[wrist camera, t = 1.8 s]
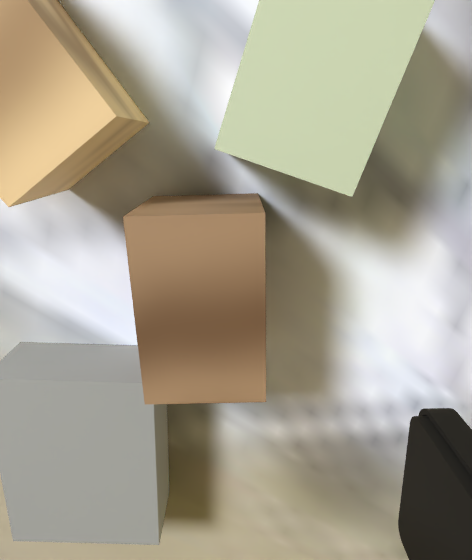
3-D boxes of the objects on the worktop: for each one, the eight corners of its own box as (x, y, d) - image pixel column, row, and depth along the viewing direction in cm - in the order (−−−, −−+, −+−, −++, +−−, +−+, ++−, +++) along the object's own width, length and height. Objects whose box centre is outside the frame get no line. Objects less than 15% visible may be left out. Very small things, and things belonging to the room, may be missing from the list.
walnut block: (153, 195, 18) (122, 216, 13) (257, 193, 18) (265, 213, 13) (166, 341, 20) (144, 404, 15) (259, 339, 20) (266, 401, 15)
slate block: (23, 339, 20) (-19, 378, 17) (166, 343, 20) (152, 383, 17) (45, 483, 23) (13, 540, 20) (170, 486, 23) (159, 544, 20)
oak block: (-57, 40, 16) (-181, -3, 11) (26, -43, 15) (-71, -127, 10) (69, 189, 18) (8, 207, 13) (149, 122, 17) (116, 116, 12)
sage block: (279, -47, 15) (299, -131, 10) (392, -1, 15) (461, -62, 11) (220, 146, 17) (214, 148, 12) (321, 181, 18) (352, 196, 13)
